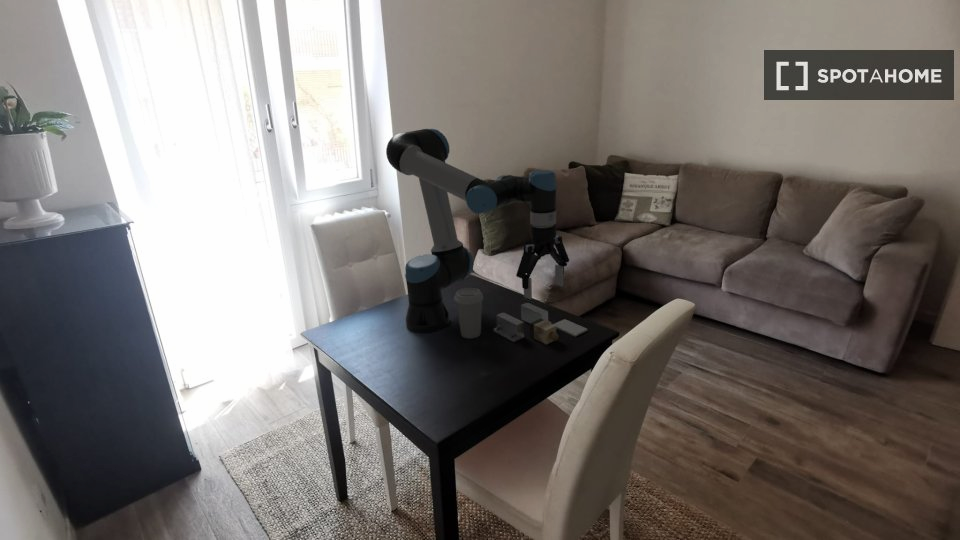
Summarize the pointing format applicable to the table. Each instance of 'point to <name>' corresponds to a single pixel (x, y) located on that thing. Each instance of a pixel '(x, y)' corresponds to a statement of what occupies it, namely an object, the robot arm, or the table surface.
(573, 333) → the mat
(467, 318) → the coffee cup
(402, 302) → the table surface
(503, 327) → the dark grey boxy pieces
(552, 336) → the tan piece
